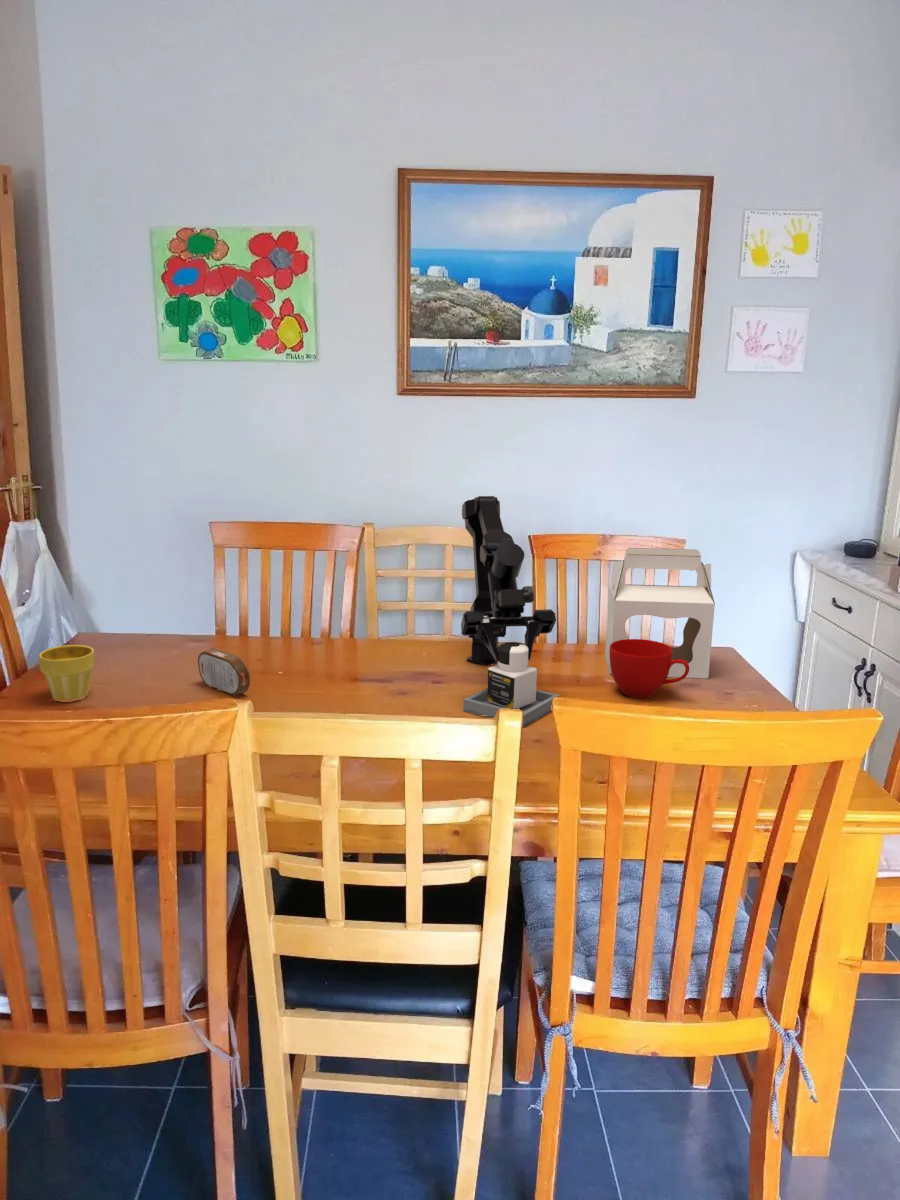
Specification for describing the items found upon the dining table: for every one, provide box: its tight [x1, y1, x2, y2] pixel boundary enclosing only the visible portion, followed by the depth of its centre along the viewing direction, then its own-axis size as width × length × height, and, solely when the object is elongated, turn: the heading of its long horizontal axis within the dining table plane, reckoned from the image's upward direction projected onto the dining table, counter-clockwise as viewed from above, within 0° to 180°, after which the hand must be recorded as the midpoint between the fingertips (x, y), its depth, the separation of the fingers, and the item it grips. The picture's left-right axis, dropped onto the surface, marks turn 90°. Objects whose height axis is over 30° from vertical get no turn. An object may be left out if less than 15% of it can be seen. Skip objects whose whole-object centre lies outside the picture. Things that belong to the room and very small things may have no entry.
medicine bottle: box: [487, 641, 538, 709], centre depth 176 cm, size 7×7×12 cm
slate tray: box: [462, 687, 561, 728], centre depth 177 cm, size 14×14×2 cm
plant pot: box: [38, 644, 96, 700], centre depth 180 cm, size 10×10×10 cm
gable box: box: [605, 547, 716, 680], centre depth 201 cm, size 22×13×28 cm, turn 85°
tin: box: [197, 647, 251, 697], centre depth 185 cm, size 15×3×8 cm, turn 50°
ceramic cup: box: [609, 638, 689, 699], centre depth 185 cm, size 13×17×10 cm
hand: (513, 659), depth 175 cm, fingers closed on medicine bottle, 6 cm apart
